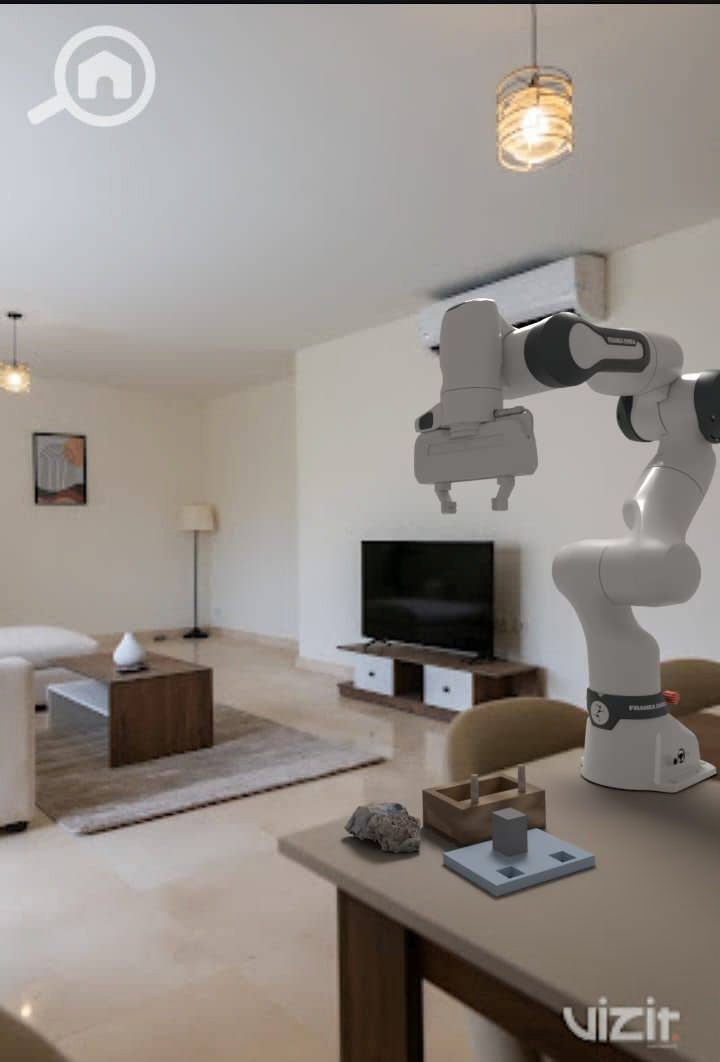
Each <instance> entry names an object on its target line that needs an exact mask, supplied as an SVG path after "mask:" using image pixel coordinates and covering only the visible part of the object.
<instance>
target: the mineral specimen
mask: <svg viewBox="0 0 720 1062" xmlns="http://www.w3.org/2000/svg"><path fill="white" fill-rule="evenodd" d="M421 826H422V822H421V820H420V818H417V817H415V816H411V815H410V814H409V811H408V809H407V808H406V806H404V805H403V804H402V803H401V804H400V803H396V802H378V801H377V802H376V801H373V802H370V803H367V804H363V805H358V806H357V808H355V810H354V811H353V813H352V815H351V817H350V818H349V819H348V821H347V822H346V824H345V826H344V827H343V829H344V830H345V831H346V832H347V833H348V834H349V835H352V837H353V838H354V837H356V838H359V839H360V840H361V841H363V840H364V839H368V840H371V841H373V842H374V843H375V842H376V841H378V844H380V846H381V851H382V852H387V853H388V852H389V853H392V852H394V853H395V854H398V853H402V852H405V853H412V852H415V851H420V850H421V844H422V840H421Z"/></svg>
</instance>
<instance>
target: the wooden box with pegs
mask: <svg viewBox="0 0 720 1062" xmlns="http://www.w3.org/2000/svg"><path fill="white" fill-rule="evenodd" d="M421 790H422V791H421V793H422V794H421V795H422V827H423V826H424V827H423V828H425V827H426V828H425V829H427V830H428V829H429V831H430V830H431V832H432V833H433V834H436V835H437V836H439V837H440V838H442V839H444V840H446V841H448V842H450V843H451V844H453V845H455V846H456V847H458V848H459V849H461V848H464V847H468V846H472V845H476V844H479V843H483V842H487V841H491V840H492V812H495V811H499V810H503V809H507V808H513V809H515V810H517V811H519V812H521V813H524V814H526V815H527V831H528V830H532V829H535V828H537V829H539V830H541V829H543V828H546V827H547V818H546V817H547V812H546V811H547V809H546V808H547V806H546V789H544V788H541V787H539V786H537V785H534V784H532V783H529V782H527V781H526V764H523V763H520V764H517V777H514V776H511V775H509V774H507V773H505V772H504V773H503V772H499V773H494V774H489V775H485V776H480V777H479V774H477V773H471V774H470V779H467V780H461V781H457V782H452V783H448V784H442V785H439V786H433V787H428V788H424V789H421Z"/></svg>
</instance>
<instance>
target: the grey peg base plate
mask: <svg viewBox="0 0 720 1062" xmlns="http://www.w3.org/2000/svg"><path fill="white" fill-rule="evenodd" d="M442 863H443V865H445V866H447V867H449V868H451V869H452V871H455V872H456V873H458V874H460V875H461V876H463V877H465V878H466V879H468V880H469V881H471V882H472V883H474V884H475V885H478V886H479V887H481V888H482V889H484V890H486V891H488V892H489V893H490V894H492V895H494V896H495V897H496V898H498V897H500V896H503V895H506V894H509V893H512V892H515V891H519V890H522V889H525V888H528V887H531V886H535V885H538V884H541V883H544V882H547V881H550V880H553V879H557V878H560V877H564V876H566V875H569V874H573V873H576V872H579V871H581V870H585V869H588V868H591V867H595V866H596V856H595V854H593V853H591V852H588V851H586V850H584V849H582V848H580V847H578V846H576V845H573V844H571V843H569V842H567V841H565V840H563V839H561V838H559V837H557V836H555V835H552V834H549V833H548V832H546V831H545V830H544V831H543V830H542V829H537V828H535V829H532V830H528V831H527V815H526V814H524V813H521V812H519V811H517V810H515V809H513V808H507V809H503V810H499V811H495V812H492V840H491V841H487V842H483V843H479V844H476V845H472V846H468V847H464V848H457V849H454V850H450V851H447V852H443V853H442Z"/></svg>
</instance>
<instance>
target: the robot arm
mask: <svg viewBox="0 0 720 1062" xmlns="http://www.w3.org/2000/svg"><path fill="white" fill-rule="evenodd" d="M439 331H440V332H439V368H440V371H441V375H442V384H441V388H440V391H439V392H440V393H439V399H440V400H439V402H438V403H436V404H435V405H434V406H432V407H431V408H430V409H429V410H427V411H426V412H423V413H422V414H421V415H420V416H419V415H418V416H417V418H415V420H414V430H415V432H416V433H419V435H417V437H416V439H415V442H414V447H413V448H414V450H413V470H414V471H413V472H414V477H415V479H416V481H417V483H418V484H419V485H431V486H434V492H435V494H436V496H437V498H438V500H439V502H440V511H441V514H442V515H452V514H457V511H458V510H457V505H458V504H457V501H453V500H452V497H451V495H450V491H451V490H452V484H453V483H462V482H474V481H482V480H493V479H496V485H499V487H498V488H499V489H498V491H497V494H496V495H495V497H491V500H490V501H491V510H492V511H493V512H506V511H508V510H509V498H510V496H511V494H512V492H513V489H514V488H515V486H516V481H515V480H516V477H522V476H532V475H534V474H535V472H536V471H537V469H538V467H539V459H538V458H539V457H538V449H537V448H538V447H537V442H536V436H535V432H534V429H535V427H534V421H535V420H534V416H533V413H532V412H531V411H530V410H529V409H528V408H525V406H523V405H517V406H514V407H511V408H510V407H509V408H504V400H516V399H520V398H524V397H529V396H532V395H536V394H540V393H545V392H549V391H553V390H557V389H564V388H571V387H572V388H573V387H577V386H579V385H582V384H584V383H585V382H586V383H587V385H588V386H589V388H590V389H591V390H593V392H595V393H598V394H602V395H604V396H605V395H606V396H611V397H612V396H613V397H618V400H617V405H616V410H615V411H616V413H615V416H616V417H615V418H616V422H617V426H618V427H619V430H620V431H621V433H622V434H623V435H624V436H625V438H626V439H628V440H630V441H632V442H637V443H638V442H639V443H651V442H654V441H656V442H659V443H658V449H657V451H656V454H655V455H654V456H653V458H651V459H650V461H649V462H648V464H647V465H646V466H645V468H644V469H643V471H642V472H641V474H640V475H639V477H638V479H637V480H636V482H635V484H634V485H633V487H632V488H631V490H630V492H629V493H628V495H627V497H626V498H625V500H624V501H623V503H622V508H621V509H622V511H621V512H622V516H623V517H622V518H623V522H624V523H625V525H626V527H627V528H628V529H629V531H630V532H628V534H626V535H624V536H623V537H617V538H614V537H613V538H612V537H611V538H587V539H583V540H582V539H581V540H578V541H574V542H571V543H567V544H565V545H563V546H562V547H560V548H559V549H558V551H557V552H556V553H555V556H554V558H553V560H552V565H551V576H552V580H553V584H554V586H555V588H556V589H557V590H558V592H559V593H560V594H561V595H562V596H563V597H565V598H566V600H568V602H569V603H570V606H571V607H572V608H573V610H574V612H575V613H576V615H577V617H578V620H579V622H580V624H581V628H582V630H583V633H584V636H585V643H586V651H587V663H588V664H587V665H588V666H587V667H588V687H587V688H586V697H585V700H586V710H587V712H588V717H587V719H586V725H585V737H584V751H583V756H581V757H580V765H581V769H580V774H581V776H582V777H583V778H585V779H586V780H588V781H590V782H593V783H595V784H598V785H602V786H605V787H610V788H616V789H624V790H637V791H642V790H643V791H655V792H663V793H677V792H680V791H682V790H684V789H686V788H688V787H690V786H692V785H695V784H697V783H699V782H701V781H703V780H705V779H707V778H710V777H711V776H713V775H716V774H717V767H715V765H714V764H711V763H709V762H707V761H705V760H702V759H701V756H700V755H701V753H700V747H699V741H698V739H697V736H696V735H695V734H694V732H692V731H691V730H690V729H689V728H687V727H686V726H685V725H684V724H683V723H681V722H680V721H679V720H678V719H677V718H676V717H674V716H673V715H672V714H670V708H669V705H668V703H669V704H672V705H678V704H679V702H680V699H681V697H680V694H679V692H676V691H670V690H665V691H664V692H663V691H662V690H661V656H660V655H661V654H660V647H659V644H658V642H657V640H656V638H655V637H654V636H653V635H652V633H649V632H648V631H647V630H645V628H643V627H642V626H641V625H640V624H639V622H638V621H637V619H636V617H635V614H634V612H633V609H632V607H646V608H661V607H669V606H674V605H681V604H685V603H687V602H689V601H690V600H691V599H692V598H693V597H694V596H695V594H696V593H697V591H698V589H699V586H700V583H701V579H702V578H701V577H702V570H701V569H702V568H701V563H700V561H699V558H698V556H697V554H696V552H695V551H694V550H693V548H692V547H691V546H690V545H688V544H687V543H686V535H687V532H688V529H689V527H690V526H691V524H692V522H693V519H694V517H695V515H696V514H697V512H698V510H699V508H700V506H701V504H702V503H703V501H704V498H705V497H706V495H707V492H708V490H709V488H710V486H711V483H712V481H713V477H714V475H715V469H716V466H717V456H716V453H715V451H714V449H713V445H717V444H720V369H716V368H715V369H712V368H711V369H706V370H704V371H700V372H691V373H684V374H682V369H683V367H684V359H685V358H684V351H683V349H682V346H681V345H680V343H679V342H678V341H677V339H675V338H674V337H672V336H671V335H668V334H665V333H663V332H660V331H656V330H653V329H652V330H651V329H647V328H646V329H645V328H639V327H638V328H635V327H633V328H632V327H622V328H621V327H619V328H611V327H610V328H609V327H603V326H597V325H596V324H593V323H591V322H589V321H588V320H586V319H585V318H583V317H581V316H580V315H578V314H576V313H573V312H569V311H568V312H567V311H562V312H557V313H556V314H555V313H554V314H553V315H551V316H549V317H546V318H544V319H542V320H541V321H538V322H536V323H533V324H529V325H528V326H527V325H526V326H524V327H521V328H516V327H514V326H513V325H511V324H510V323H509V322H508V321H507V320H506V319H505V318H504V317H503V316H502V315H501V313H500V312H499V307H498V304H497V302H496V301H495V300H494V299H490V298H483V297H482V298H473V299H470V300H465V301H462V302H458V303H456V304H455V305H453V306H451V307H449V308H447V310H446V311H445V312H444V314H443V317H442V320H441V325H440V330H439Z"/></svg>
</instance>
